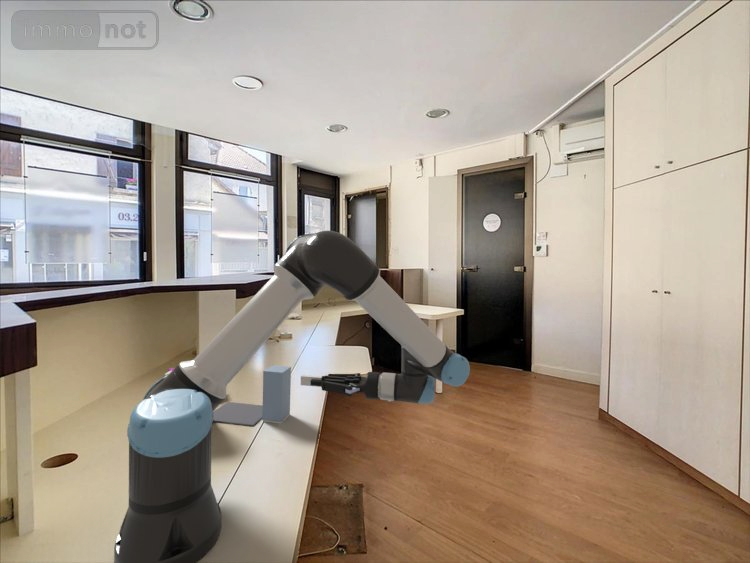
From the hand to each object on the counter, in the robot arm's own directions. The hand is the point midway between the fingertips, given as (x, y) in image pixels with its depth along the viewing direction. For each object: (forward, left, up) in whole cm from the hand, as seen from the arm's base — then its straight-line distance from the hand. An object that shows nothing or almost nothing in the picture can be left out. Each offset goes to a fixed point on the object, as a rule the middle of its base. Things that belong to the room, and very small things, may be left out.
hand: (301, 379), depth 101 cm
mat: (0, +20, -12) cm, 23 cm away
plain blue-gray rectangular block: (0, +8, -12) cm, 14 cm away
